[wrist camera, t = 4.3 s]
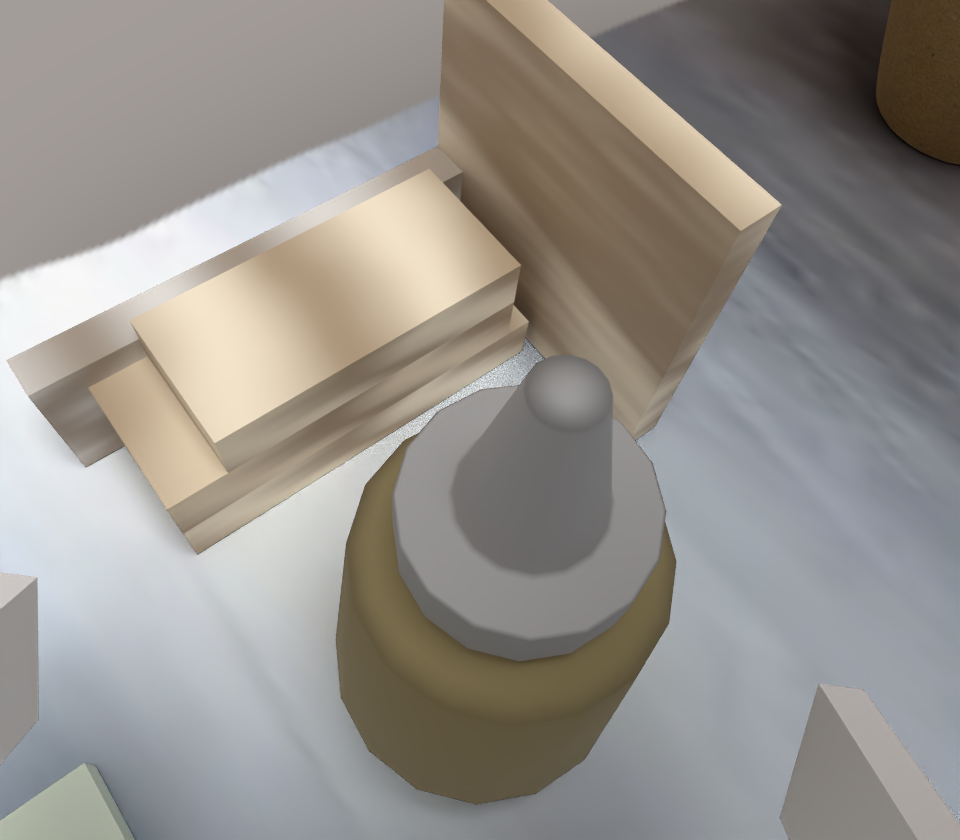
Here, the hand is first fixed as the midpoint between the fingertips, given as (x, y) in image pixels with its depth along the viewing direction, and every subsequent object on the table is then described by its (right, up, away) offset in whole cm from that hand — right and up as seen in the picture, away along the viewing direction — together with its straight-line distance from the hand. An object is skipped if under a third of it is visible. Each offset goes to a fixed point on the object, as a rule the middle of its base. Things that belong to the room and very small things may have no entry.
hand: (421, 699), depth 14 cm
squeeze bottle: (+1, -3, +13) cm, 13 cm away
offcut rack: (-3, +4, +16) cm, 17 cm away
